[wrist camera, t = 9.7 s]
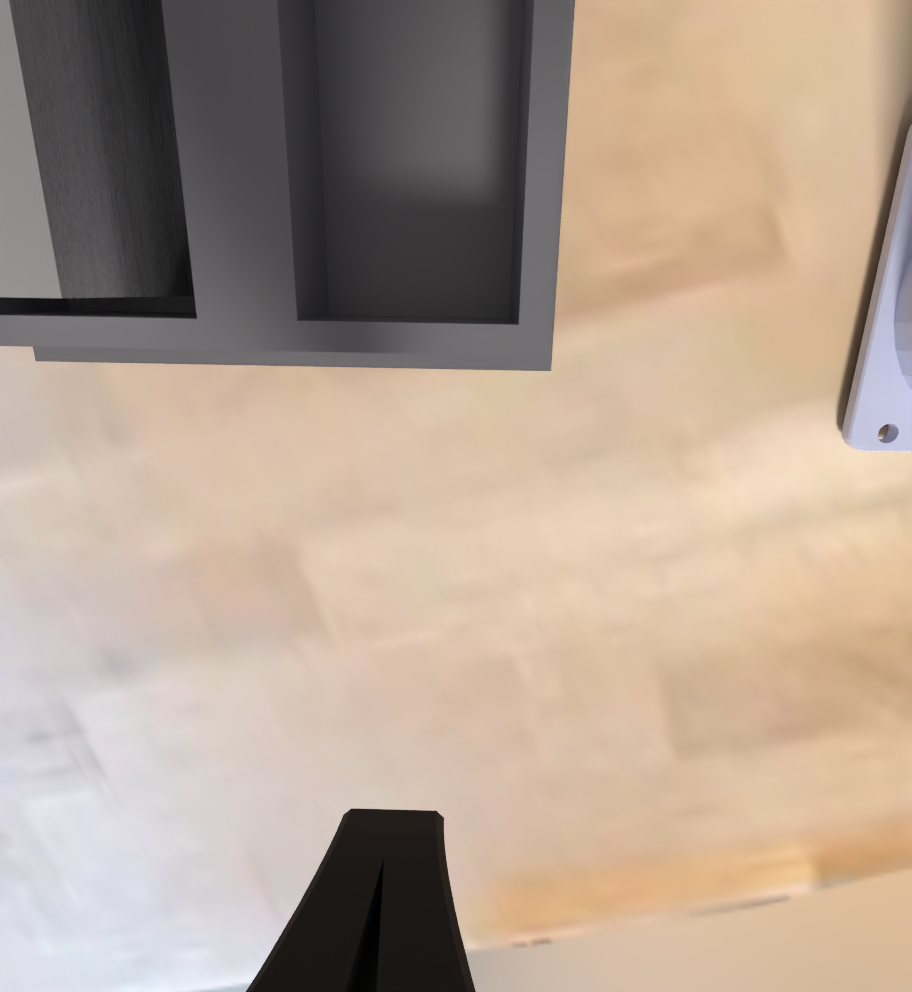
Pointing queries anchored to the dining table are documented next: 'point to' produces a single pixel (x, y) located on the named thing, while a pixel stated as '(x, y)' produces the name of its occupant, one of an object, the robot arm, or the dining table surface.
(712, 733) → the dining table surface
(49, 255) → the grey metallic block
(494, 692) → the dining table surface
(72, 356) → the box
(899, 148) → the dining table surface
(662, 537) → the dining table surface
